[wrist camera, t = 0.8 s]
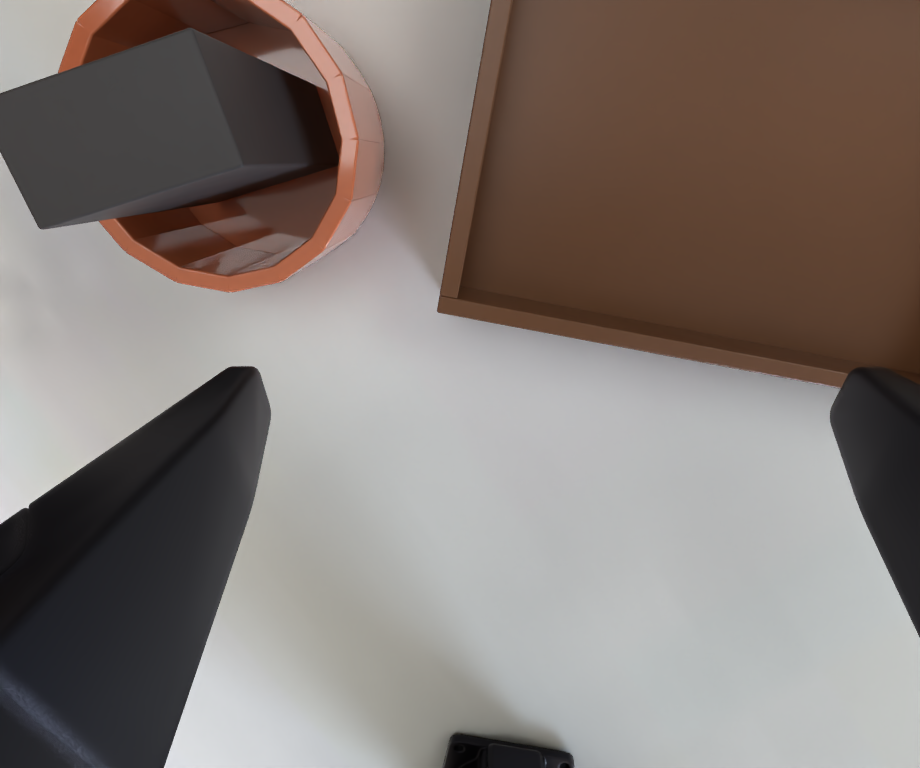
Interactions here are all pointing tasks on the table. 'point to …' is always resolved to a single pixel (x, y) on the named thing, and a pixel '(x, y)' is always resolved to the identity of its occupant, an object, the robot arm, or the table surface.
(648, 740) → the table surface
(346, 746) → the table surface
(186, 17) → the holder cup
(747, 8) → the tray
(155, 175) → the dark grey block
